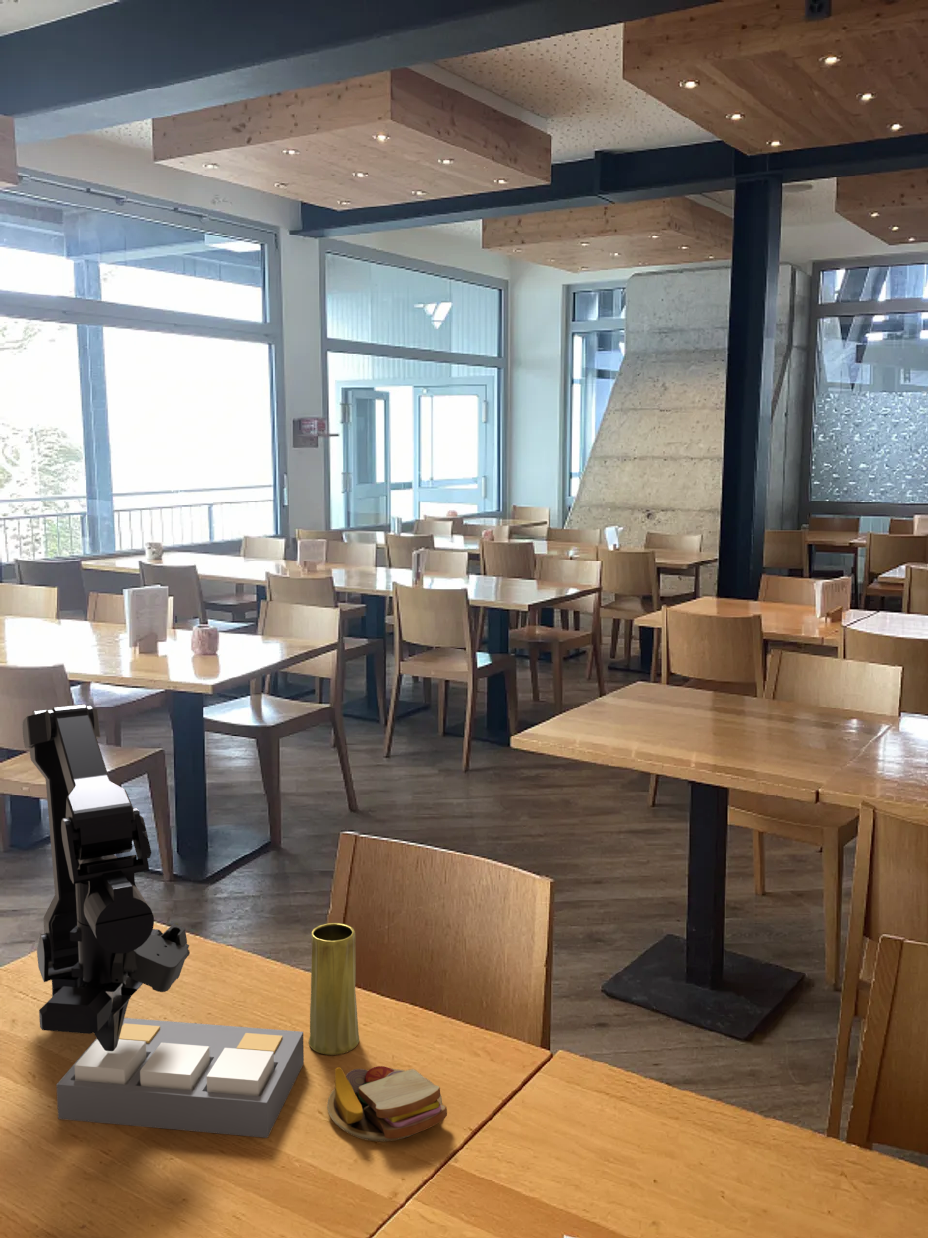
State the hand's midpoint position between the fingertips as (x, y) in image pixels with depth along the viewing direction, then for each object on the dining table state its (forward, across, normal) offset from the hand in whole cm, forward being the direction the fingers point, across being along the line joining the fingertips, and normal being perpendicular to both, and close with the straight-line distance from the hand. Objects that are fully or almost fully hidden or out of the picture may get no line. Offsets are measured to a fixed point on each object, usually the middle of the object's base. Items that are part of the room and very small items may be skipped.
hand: (110, 1049), depth 117 cm
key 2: (+3, 0, -15) cm, 15 cm away
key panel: (+6, +3, -7) cm, 10 cm away
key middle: (+3, 0, -7) cm, 8 cm away
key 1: (+3, 0, 0) cm, 3 cm away
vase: (+6, +15, -21) cm, 27 cm away
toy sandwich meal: (+6, +2, -31) cm, 32 cm away
